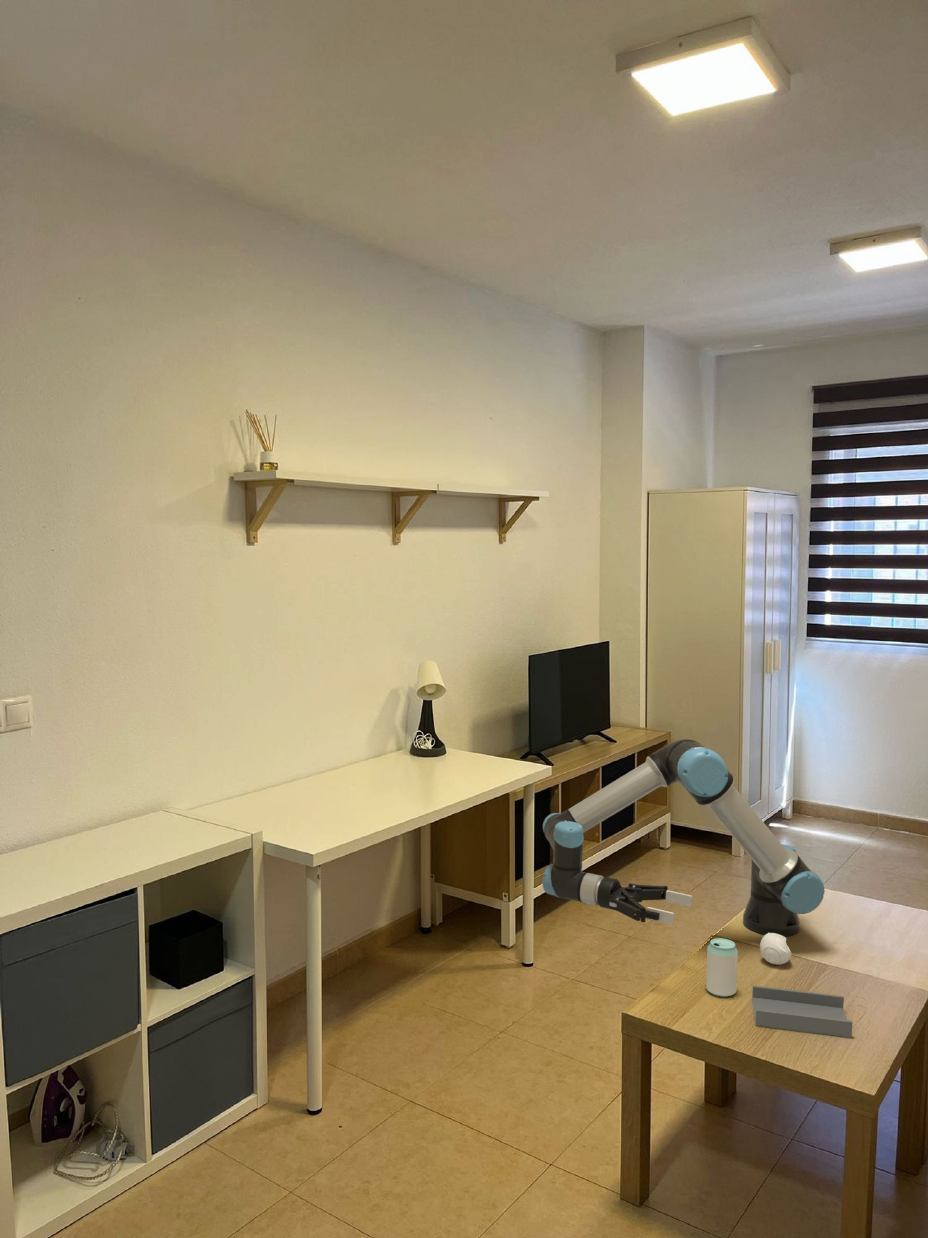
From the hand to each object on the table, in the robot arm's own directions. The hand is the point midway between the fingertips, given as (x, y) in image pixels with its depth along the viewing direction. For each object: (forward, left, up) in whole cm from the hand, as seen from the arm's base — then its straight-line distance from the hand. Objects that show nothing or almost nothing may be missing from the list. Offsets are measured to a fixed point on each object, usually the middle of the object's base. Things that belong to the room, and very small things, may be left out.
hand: (682, 910), depth 231 cm
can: (+3, +9, -18) cm, 21 cm away
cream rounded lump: (-17, +23, -18) cm, 34 cm away
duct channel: (+12, +26, -18) cm, 34 cm away
